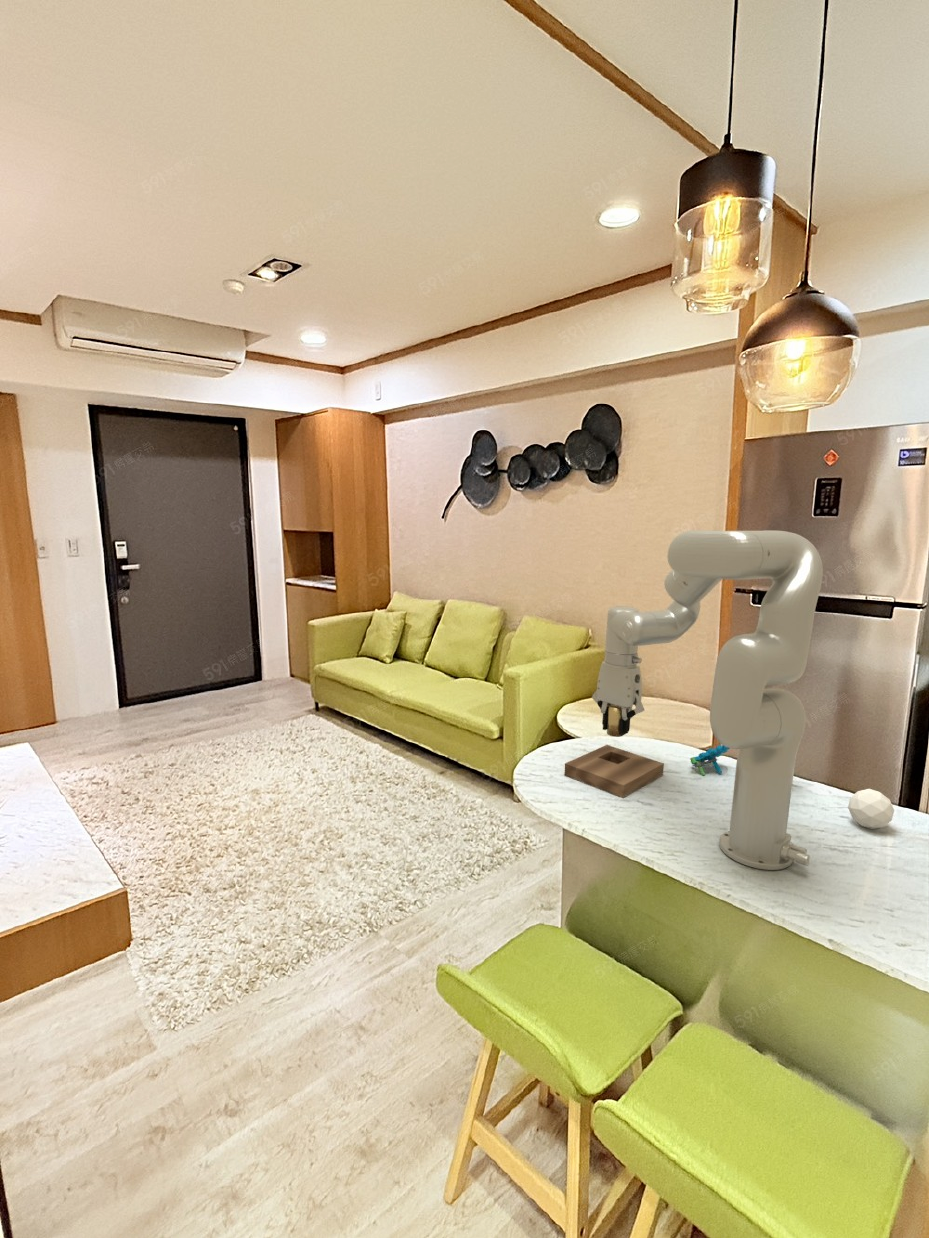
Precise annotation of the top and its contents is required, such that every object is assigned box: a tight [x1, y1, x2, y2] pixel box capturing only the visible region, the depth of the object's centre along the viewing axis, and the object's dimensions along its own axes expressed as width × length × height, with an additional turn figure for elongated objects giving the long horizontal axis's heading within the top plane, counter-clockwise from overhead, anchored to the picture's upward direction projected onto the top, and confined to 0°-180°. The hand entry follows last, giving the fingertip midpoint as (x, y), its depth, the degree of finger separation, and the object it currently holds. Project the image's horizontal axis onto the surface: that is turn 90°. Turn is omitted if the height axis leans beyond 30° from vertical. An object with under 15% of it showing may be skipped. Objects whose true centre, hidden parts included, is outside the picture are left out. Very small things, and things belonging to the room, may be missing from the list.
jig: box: [564, 744, 665, 799], centre depth 150 cm, size 16×18×3 cm
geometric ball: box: [847, 788, 895, 830], centre depth 128 cm, size 8×8×8 cm
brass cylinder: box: [606, 704, 624, 738], centre depth 152 cm, size 4×4×7 cm
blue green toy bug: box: [689, 744, 731, 776], centre depth 154 cm, size 11×6×10 cm
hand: (615, 730), depth 152 cm, fingers closed on brass cylinder, 4 cm apart
